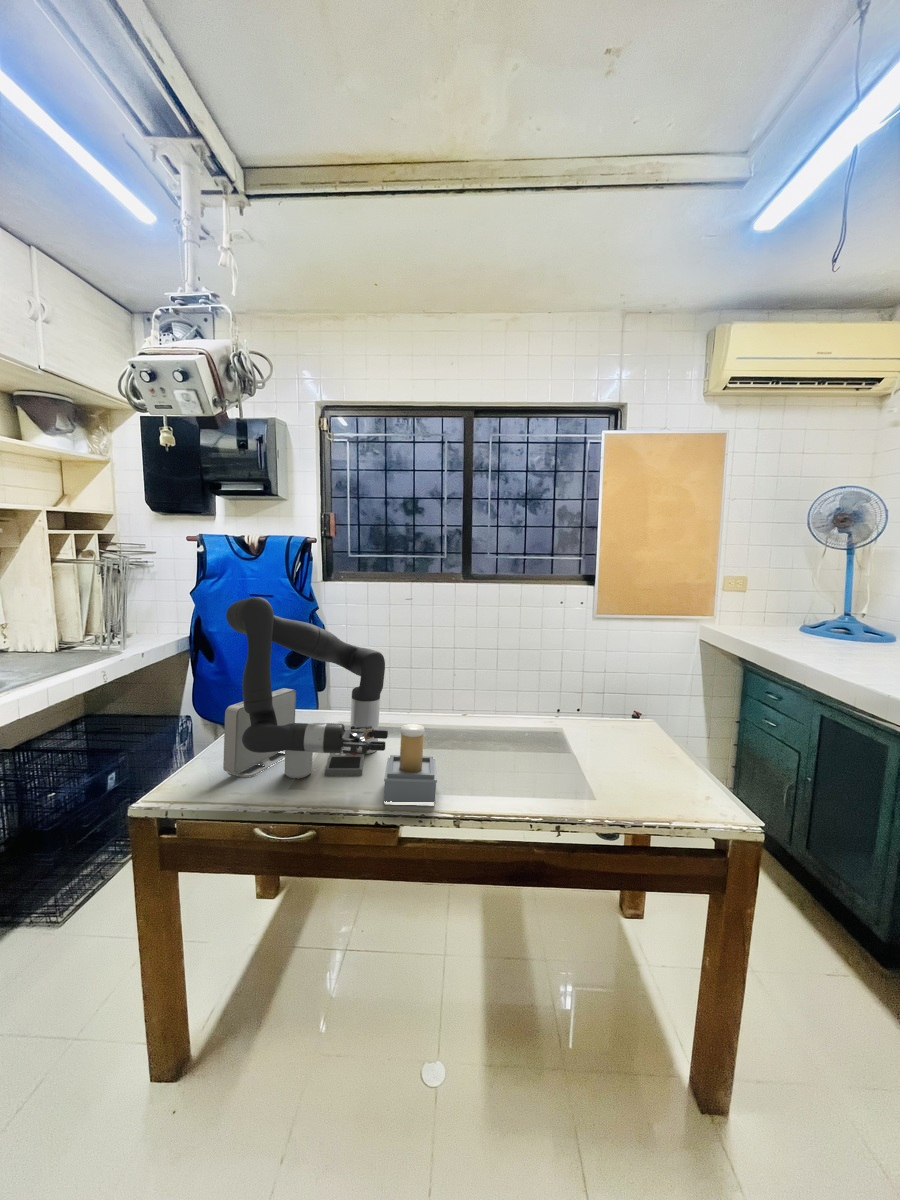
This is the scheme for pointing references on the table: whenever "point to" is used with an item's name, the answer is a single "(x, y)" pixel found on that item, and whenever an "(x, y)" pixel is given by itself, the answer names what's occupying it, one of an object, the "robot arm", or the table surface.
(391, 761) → the grey case
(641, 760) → the table surface
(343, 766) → the electronic device
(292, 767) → the can
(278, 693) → the network device
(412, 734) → the glass of beer
